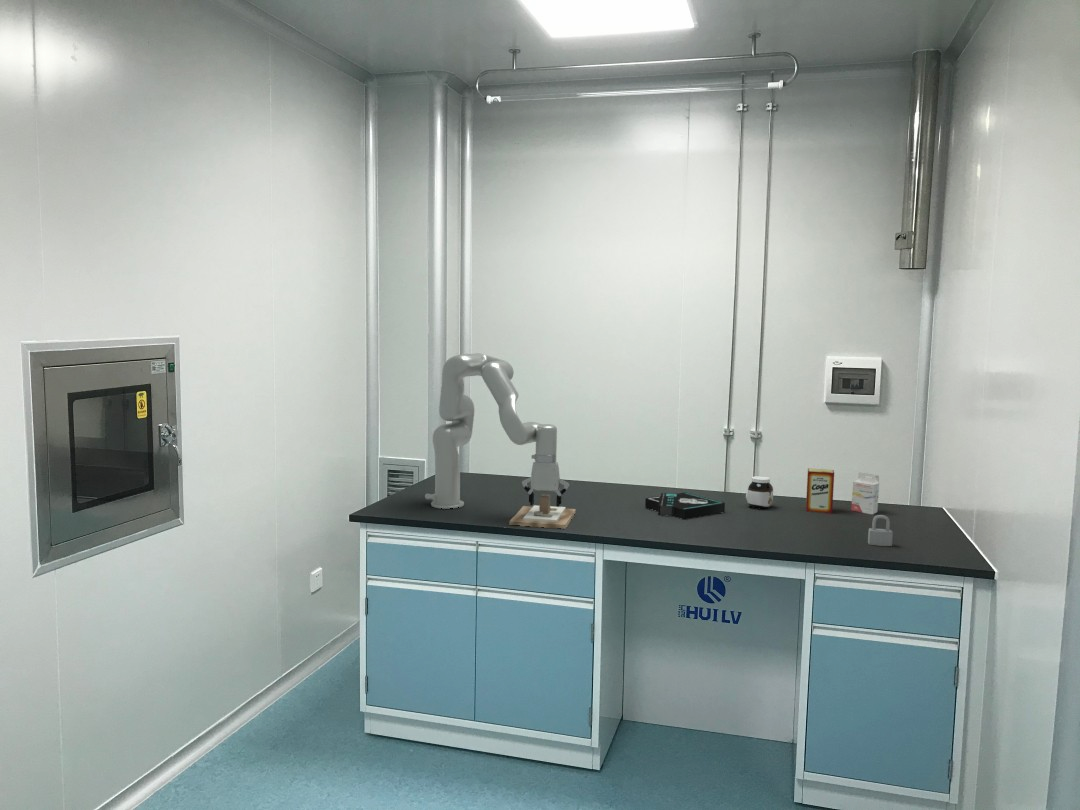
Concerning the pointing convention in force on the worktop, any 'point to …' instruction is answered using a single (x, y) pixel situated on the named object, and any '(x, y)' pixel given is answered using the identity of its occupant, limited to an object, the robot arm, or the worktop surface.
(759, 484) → the spread jar
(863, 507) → the ink cartridge box
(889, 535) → the padlock
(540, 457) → the robot arm
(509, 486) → the worktop surface
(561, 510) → the panel
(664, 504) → the flat black box
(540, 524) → the board
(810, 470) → the baking soda box
